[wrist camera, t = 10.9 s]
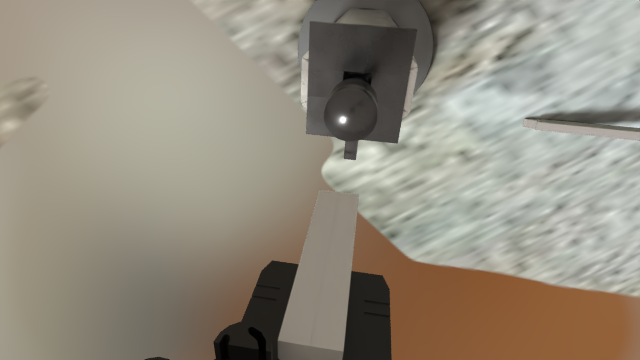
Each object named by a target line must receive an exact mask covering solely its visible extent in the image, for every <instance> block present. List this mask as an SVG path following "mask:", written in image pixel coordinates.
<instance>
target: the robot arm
mask: <svg viewBox="0 0 640 360" xmlns="http://www.w3.org/2000/svg"><path fill="white" fill-rule="evenodd" d="M358 197H359V194H351V193H343V192H335V191H326V190H320V191H319V194H318V198H317V201H316V205H315V208H314V212H313V215H312V219H311V223H310V226H309V230H308V233H307V237H306V241H305V244H304V248H303V252H302V255H301V259H300V262H299V264H292V263H286V262H279V261H271V262H270V263H269V264H268V265H267V266H266V267H265V268H264V269H263V270H262V272H261V274H260V276H259V279H258V282H257V284H256V287H255V289H254V291H253V294H252V298H251V299H250V301H249V304H248V307H247V309H246V311H245V314H244V316H243V319H242V322H239V323H236V324H233V325H230V326H228V327H227V328H226V329H224V330H223V331H221V332H220V334H219V335H218V336H217V338H216V339H215V341H214V348H215V355H216V359H215V360H391V327H390V291H389V288H388V285H387V284H386V282H385V280H384V278H383V276H382V275H374V274H368V273H361V272H353V271H351V269H352V259H353V248H354V238H355V227H356V218H357V207H358ZM145 360H169V359H165V358H161V357H155V358H149V359H145Z"/></svg>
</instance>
